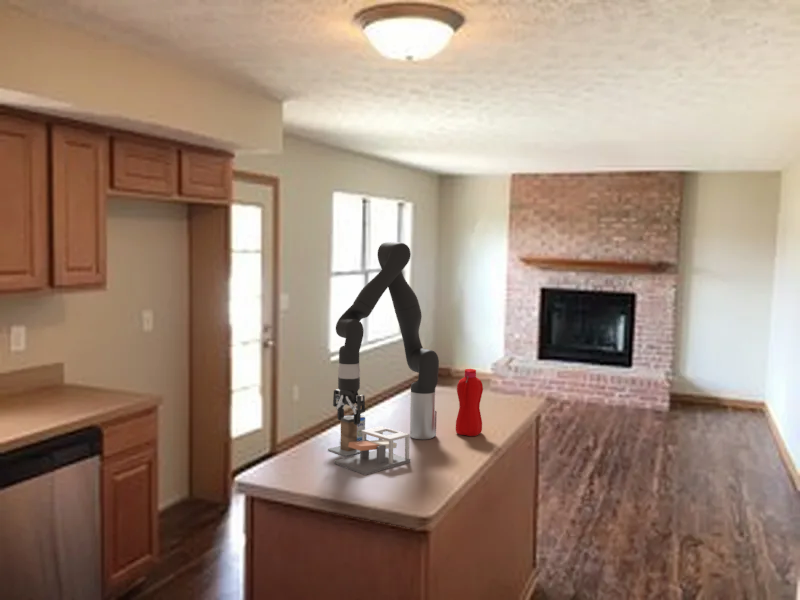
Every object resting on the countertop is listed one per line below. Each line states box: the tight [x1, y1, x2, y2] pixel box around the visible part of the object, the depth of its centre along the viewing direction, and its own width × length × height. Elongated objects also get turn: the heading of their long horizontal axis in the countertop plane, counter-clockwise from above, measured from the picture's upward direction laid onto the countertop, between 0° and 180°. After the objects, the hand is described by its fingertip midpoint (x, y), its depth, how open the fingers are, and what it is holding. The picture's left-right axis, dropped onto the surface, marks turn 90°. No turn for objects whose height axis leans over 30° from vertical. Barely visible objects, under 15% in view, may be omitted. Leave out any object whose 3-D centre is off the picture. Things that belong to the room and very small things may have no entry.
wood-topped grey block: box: [339, 415, 358, 451], centre depth 248 cm, size 4×4×11 cm
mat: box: [327, 445, 360, 458], centre depth 249 cm, size 10×10×1 cm
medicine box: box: [344, 414, 366, 442], centre depth 263 cm, size 8×4×9 cm, turn 105°
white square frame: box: [334, 425, 411, 476], centre depth 235 cm, size 20×15×9 cm
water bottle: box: [455, 368, 484, 437], centre depth 273 cm, size 9×11×25 cm
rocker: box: [348, 439, 398, 451], centre depth 235 cm, size 16×6×2 cm, turn 134°
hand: (348, 421), depth 248 cm, fingers open, 8 cm apart
